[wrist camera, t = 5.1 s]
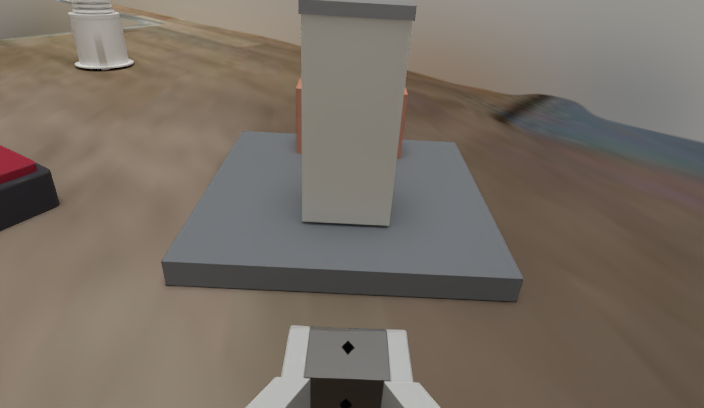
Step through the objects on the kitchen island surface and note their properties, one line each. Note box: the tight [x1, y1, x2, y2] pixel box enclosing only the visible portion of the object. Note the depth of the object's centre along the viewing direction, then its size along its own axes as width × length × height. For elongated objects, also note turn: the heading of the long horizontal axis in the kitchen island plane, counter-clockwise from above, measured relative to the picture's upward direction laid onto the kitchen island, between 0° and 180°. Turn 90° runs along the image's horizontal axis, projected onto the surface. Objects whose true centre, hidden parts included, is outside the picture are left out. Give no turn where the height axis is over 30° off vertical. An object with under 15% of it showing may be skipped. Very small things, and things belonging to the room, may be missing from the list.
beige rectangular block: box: [299, 0, 416, 226], centre depth 24 cm, size 5×4×12 cm
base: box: [161, 78, 523, 302], centre depth 29 cm, size 18×18×6 cm
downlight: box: [68, 0, 134, 70], centre depth 58 cm, size 8×7×10 cm
